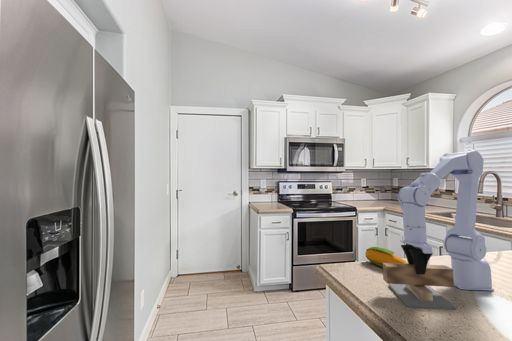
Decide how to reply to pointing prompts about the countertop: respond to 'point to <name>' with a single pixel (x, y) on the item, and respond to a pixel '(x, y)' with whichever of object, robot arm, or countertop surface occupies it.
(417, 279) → the brown wooden block
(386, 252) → the corn
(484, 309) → the countertop surface
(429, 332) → the countertop surface
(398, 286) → the board
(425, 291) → the ridge
